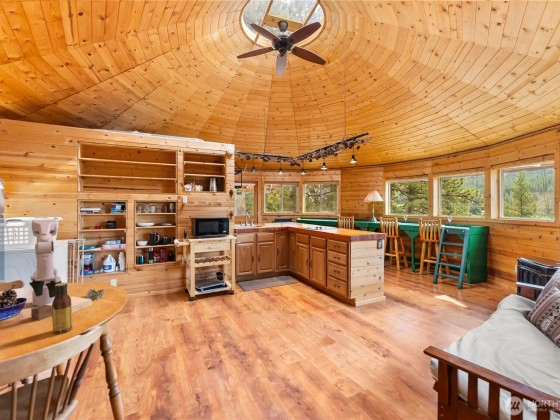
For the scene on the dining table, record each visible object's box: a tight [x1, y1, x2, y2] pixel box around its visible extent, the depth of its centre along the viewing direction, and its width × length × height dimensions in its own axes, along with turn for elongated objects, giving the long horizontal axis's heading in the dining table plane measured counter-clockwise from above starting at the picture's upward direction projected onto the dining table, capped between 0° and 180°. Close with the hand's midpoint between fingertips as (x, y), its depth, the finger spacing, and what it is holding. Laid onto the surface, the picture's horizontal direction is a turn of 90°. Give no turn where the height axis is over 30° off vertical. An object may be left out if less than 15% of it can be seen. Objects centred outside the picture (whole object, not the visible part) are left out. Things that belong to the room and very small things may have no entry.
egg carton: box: [85, 288, 105, 300], centre depth 145 cm, size 11×8×4 cm
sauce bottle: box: [51, 282, 73, 335], centre depth 107 cm, size 7×6×20 cm
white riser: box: [48, 296, 93, 314], centre depth 131 cm, size 14×12×3 cm
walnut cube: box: [30, 304, 52, 322], centre depth 120 cm, size 5×5×5 cm
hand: (45, 296), depth 120 cm, fingers open, 7 cm apart
